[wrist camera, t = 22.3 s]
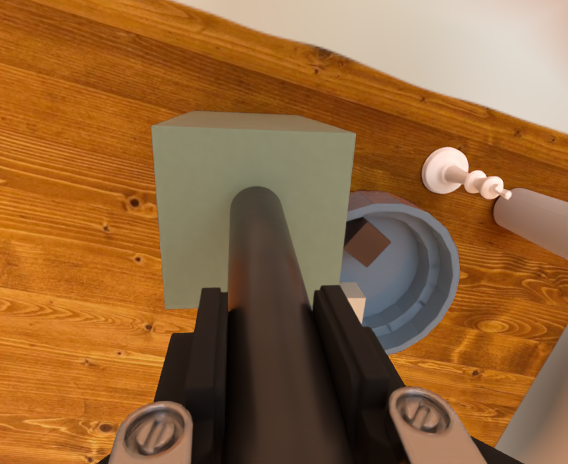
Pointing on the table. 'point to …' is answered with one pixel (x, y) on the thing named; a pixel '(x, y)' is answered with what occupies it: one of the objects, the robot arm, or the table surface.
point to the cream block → (354, 297)
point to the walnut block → (364, 241)
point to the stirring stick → (274, 349)
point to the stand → (240, 175)
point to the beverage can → (535, 219)
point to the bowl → (402, 270)
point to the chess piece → (458, 175)
